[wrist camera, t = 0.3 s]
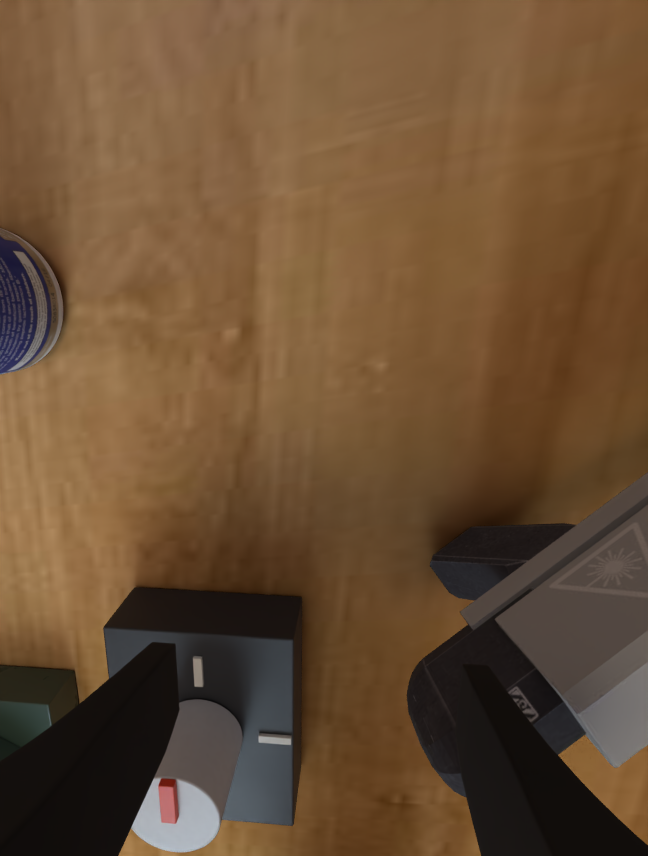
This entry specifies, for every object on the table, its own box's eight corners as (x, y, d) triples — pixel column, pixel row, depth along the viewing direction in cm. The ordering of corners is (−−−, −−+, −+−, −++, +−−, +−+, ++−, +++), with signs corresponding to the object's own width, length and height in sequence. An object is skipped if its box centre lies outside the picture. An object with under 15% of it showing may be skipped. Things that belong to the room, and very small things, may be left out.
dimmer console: (301, 766, 26) (292, 830, 23) (149, 754, 26) (121, 815, 23) (302, 596, 23) (293, 642, 20) (134, 586, 24) (100, 629, 21)
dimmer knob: (243, 768, 22) (219, 866, 18) (164, 762, 22) (124, 857, 19) (241, 701, 21) (216, 790, 17) (158, 695, 21) (115, 781, 18)
